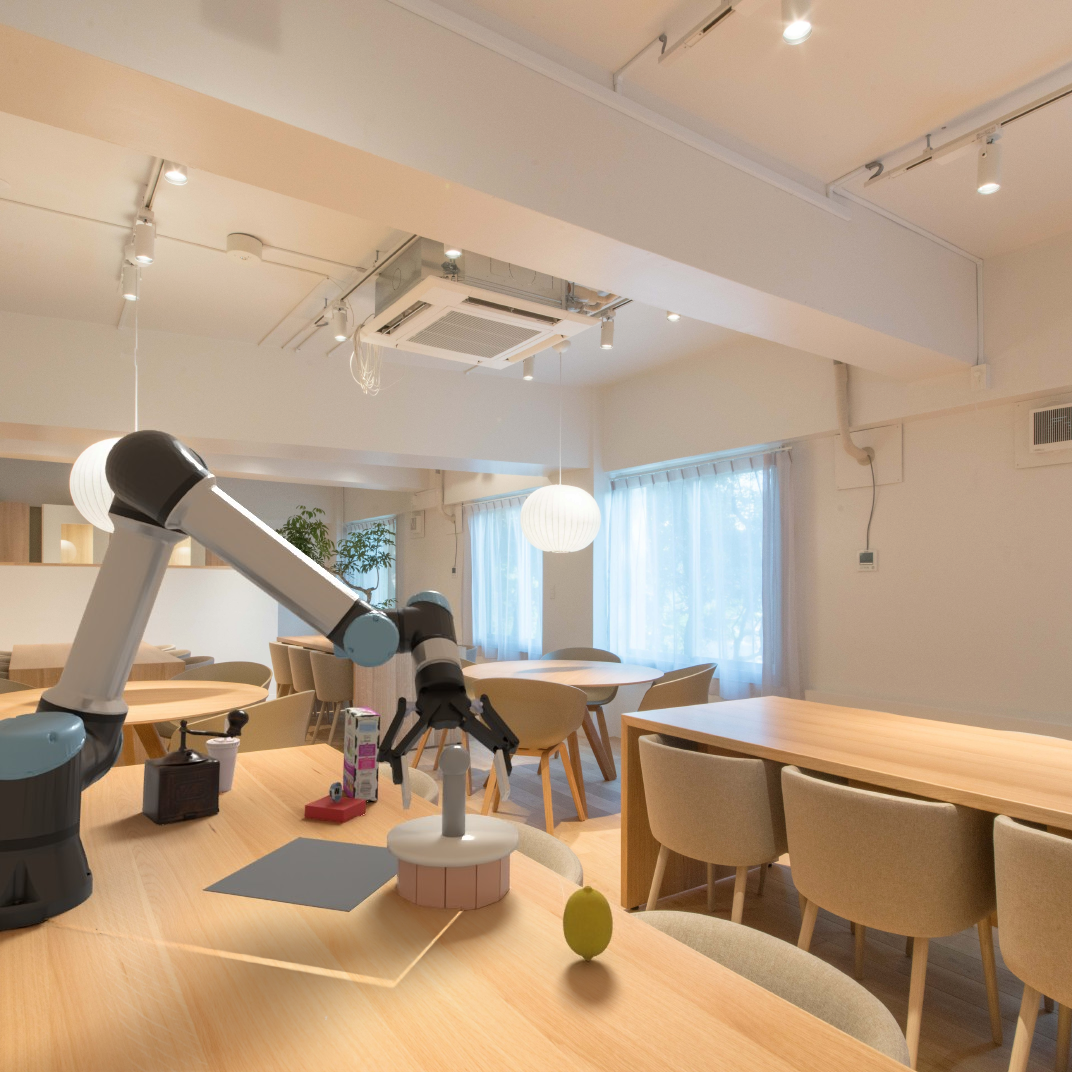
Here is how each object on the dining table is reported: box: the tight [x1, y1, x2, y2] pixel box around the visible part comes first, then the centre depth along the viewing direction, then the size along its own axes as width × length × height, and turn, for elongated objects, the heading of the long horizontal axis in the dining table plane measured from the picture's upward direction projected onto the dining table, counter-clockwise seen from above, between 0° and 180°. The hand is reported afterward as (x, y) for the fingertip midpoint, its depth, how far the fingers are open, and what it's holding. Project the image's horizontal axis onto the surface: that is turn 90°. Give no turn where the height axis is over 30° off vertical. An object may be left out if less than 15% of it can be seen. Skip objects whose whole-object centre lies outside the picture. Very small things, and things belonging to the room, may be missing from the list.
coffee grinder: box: [141, 709, 250, 826], centre depth 138 cm, size 16×11×18 cm
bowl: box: [396, 854, 511, 912], centre depth 104 cm, size 15×15×6 cm
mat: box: [202, 836, 397, 913], centre depth 108 cm, size 22×22×1 cm
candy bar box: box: [342, 706, 381, 803], centre depth 148 cm, size 11×5×16 cm, turn 25°
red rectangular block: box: [304, 781, 367, 824], centre depth 134 cm, size 8×7×6 cm
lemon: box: [562, 885, 614, 962], centre depth 84 cm, size 6×6×8 cm
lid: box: [386, 744, 520, 867], centre depth 104 cm, size 18×18×13 cm
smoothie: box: [205, 718, 241, 793], centre depth 151 cm, size 6×6×14 cm
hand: (457, 800), depth 102 cm, fingers open, 13 cm apart
